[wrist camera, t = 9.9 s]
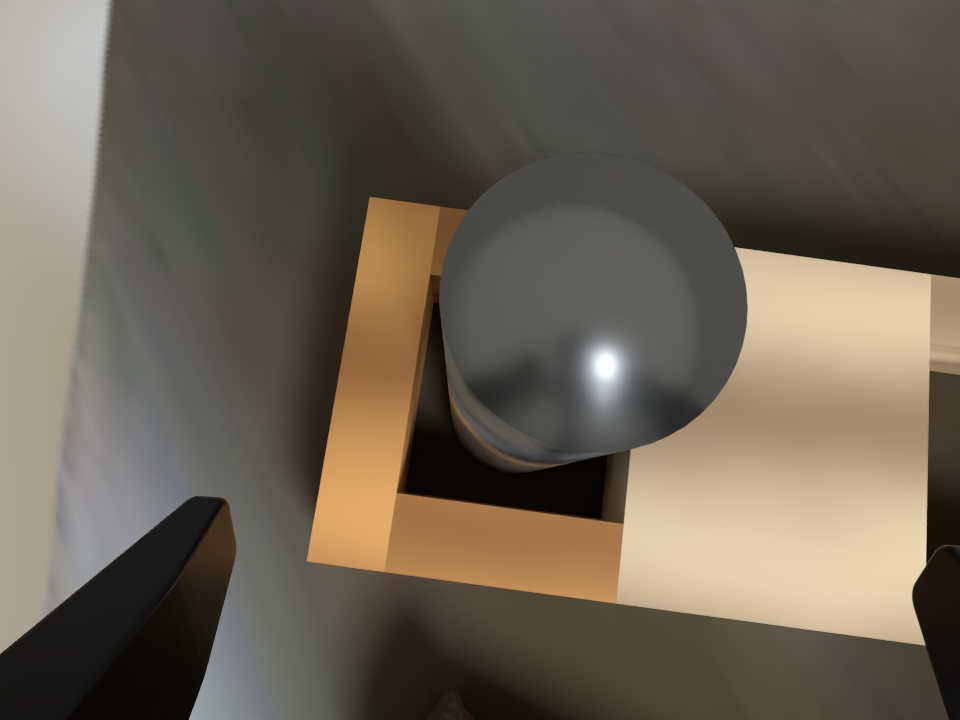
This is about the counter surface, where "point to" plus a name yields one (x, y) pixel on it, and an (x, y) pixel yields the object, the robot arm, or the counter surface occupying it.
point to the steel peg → (586, 312)
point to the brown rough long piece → (450, 707)
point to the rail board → (672, 453)
